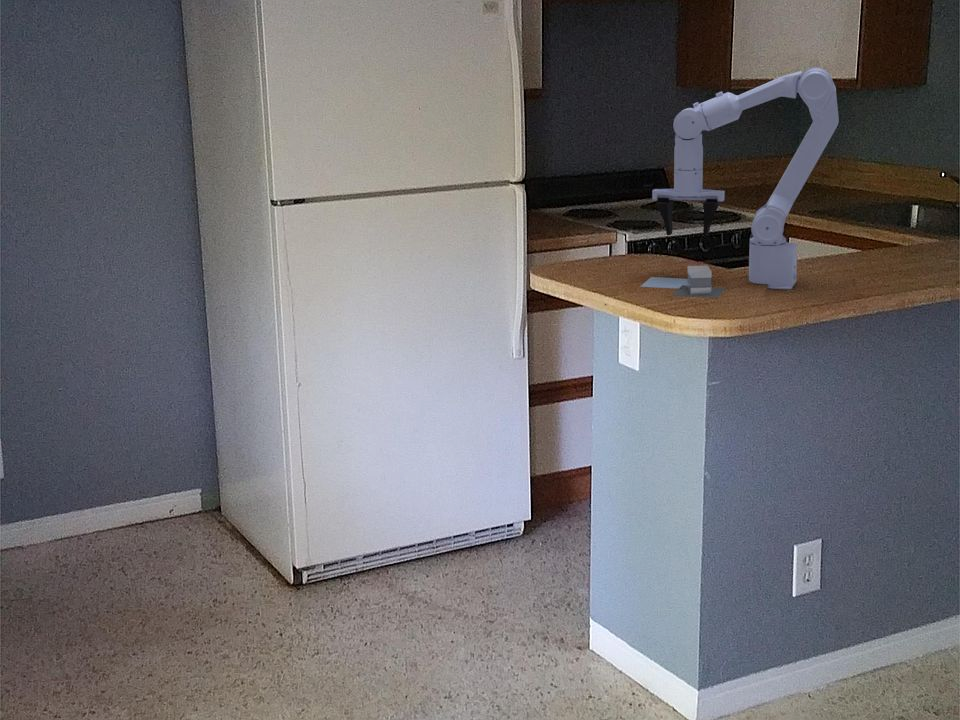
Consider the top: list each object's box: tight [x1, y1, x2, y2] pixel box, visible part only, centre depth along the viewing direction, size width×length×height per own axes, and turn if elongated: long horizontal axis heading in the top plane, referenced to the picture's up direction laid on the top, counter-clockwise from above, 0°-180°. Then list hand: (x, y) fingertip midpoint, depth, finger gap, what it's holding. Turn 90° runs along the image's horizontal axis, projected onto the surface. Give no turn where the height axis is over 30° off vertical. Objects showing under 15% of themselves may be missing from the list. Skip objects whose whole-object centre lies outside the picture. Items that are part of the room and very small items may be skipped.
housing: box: [687, 265, 713, 295], centre depth 239 cm, size 6×4×4 cm, turn 177°
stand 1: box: [639, 276, 688, 290], centre depth 248 cm, size 9×9×1 cm
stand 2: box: [671, 285, 727, 299], centre depth 240 cm, size 9×9×1 cm
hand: (687, 235), depth 248 cm, fingers open, 7 cm apart
